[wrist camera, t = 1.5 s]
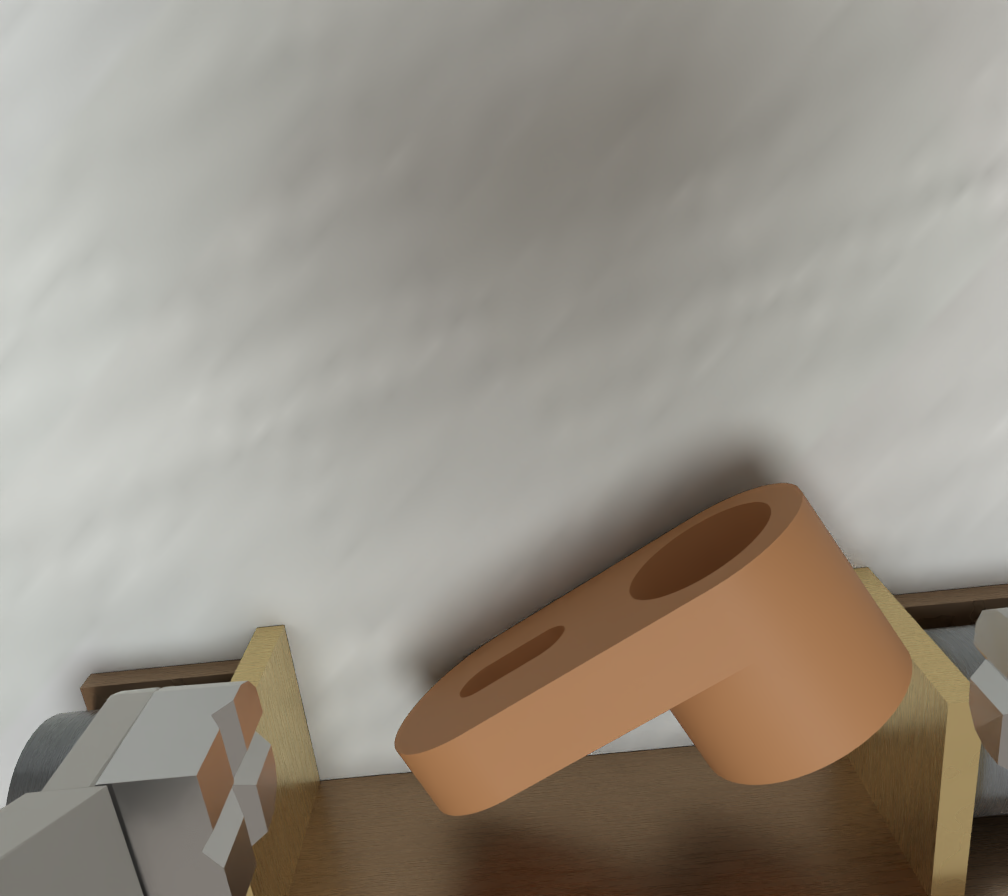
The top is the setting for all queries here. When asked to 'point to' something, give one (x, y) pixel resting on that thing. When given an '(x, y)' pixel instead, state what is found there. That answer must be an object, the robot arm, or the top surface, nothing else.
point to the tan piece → (675, 662)
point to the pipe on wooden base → (633, 798)
